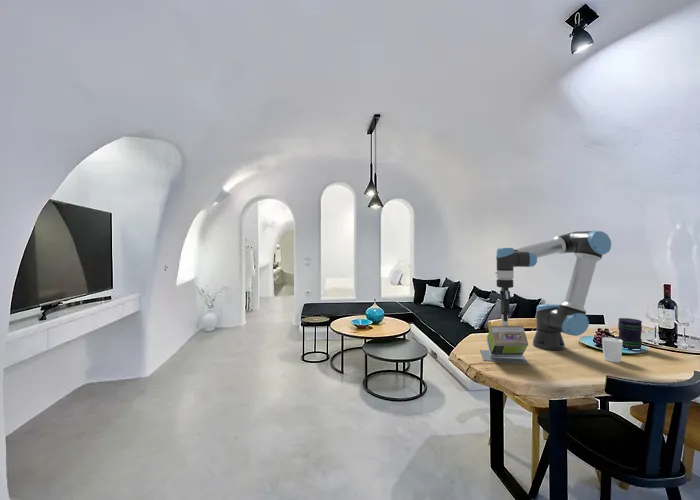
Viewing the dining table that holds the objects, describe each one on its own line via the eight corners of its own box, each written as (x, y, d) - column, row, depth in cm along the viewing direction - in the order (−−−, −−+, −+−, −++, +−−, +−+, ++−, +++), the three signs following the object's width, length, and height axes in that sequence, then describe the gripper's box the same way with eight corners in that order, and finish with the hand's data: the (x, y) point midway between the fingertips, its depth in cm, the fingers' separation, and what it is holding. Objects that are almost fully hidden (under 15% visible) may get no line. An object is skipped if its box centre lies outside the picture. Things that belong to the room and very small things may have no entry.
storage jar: (638, 346, 187) (639, 319, 187) (644, 351, 178) (644, 323, 178) (616, 344, 192) (616, 317, 191) (620, 349, 183) (620, 321, 182)
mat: (521, 353, 178) (521, 352, 178) (528, 364, 162) (528, 363, 162) (479, 350, 183) (479, 349, 183) (483, 360, 167) (483, 360, 167)
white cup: (617, 364, 161) (617, 342, 161) (598, 358, 168) (598, 338, 168) (625, 361, 165) (626, 340, 164) (607, 356, 172) (607, 336, 171)
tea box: (516, 339, 175) (523, 324, 164) (521, 358, 169) (529, 344, 158) (485, 339, 177) (490, 325, 166) (489, 357, 171) (495, 344, 160)
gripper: (494, 277, 176) (494, 324, 176) (498, 280, 163) (498, 329, 163) (510, 278, 174) (510, 324, 174) (516, 280, 161) (516, 330, 161)
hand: (504, 327), depth 168 cm, fingers closed
